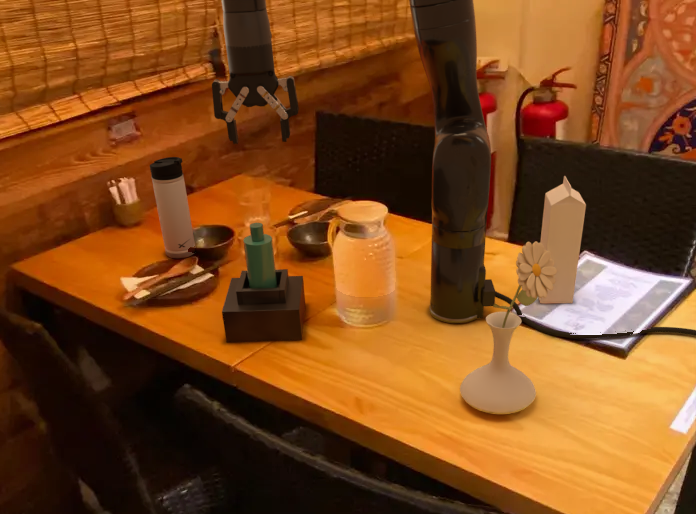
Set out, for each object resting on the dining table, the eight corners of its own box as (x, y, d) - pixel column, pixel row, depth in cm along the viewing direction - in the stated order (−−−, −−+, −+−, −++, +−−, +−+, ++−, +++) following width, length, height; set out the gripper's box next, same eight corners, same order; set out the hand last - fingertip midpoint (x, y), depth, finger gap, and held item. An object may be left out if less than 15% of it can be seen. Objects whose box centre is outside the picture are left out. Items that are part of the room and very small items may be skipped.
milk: (540, 304, 144) (552, 187, 131) (535, 289, 149) (546, 175, 136) (573, 303, 144) (588, 186, 131) (567, 288, 149) (581, 174, 136)
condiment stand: (305, 305, 145) (302, 262, 140) (301, 340, 135) (298, 296, 130) (235, 307, 145) (229, 265, 140) (226, 342, 134) (219, 298, 129)
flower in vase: (482, 429, 113) (494, 270, 98) (446, 389, 121) (452, 238, 107) (559, 407, 117) (580, 252, 102) (518, 370, 125) (533, 222, 111)
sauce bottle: (278, 286, 138) (271, 219, 131) (276, 298, 134) (269, 230, 127) (251, 287, 138) (243, 219, 131) (248, 299, 134) (239, 231, 127)
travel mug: (190, 260, 163) (174, 164, 151) (161, 257, 164) (142, 163, 152) (202, 247, 168) (187, 154, 156) (173, 245, 169) (156, 153, 157)
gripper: (201, 46, 124) (216, 149, 133) (290, 42, 125) (300, 145, 133) (208, 39, 131) (222, 139, 139) (293, 35, 131) (302, 135, 140)
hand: (260, 142), depth 136 cm, fingers open, 8 cm apart
